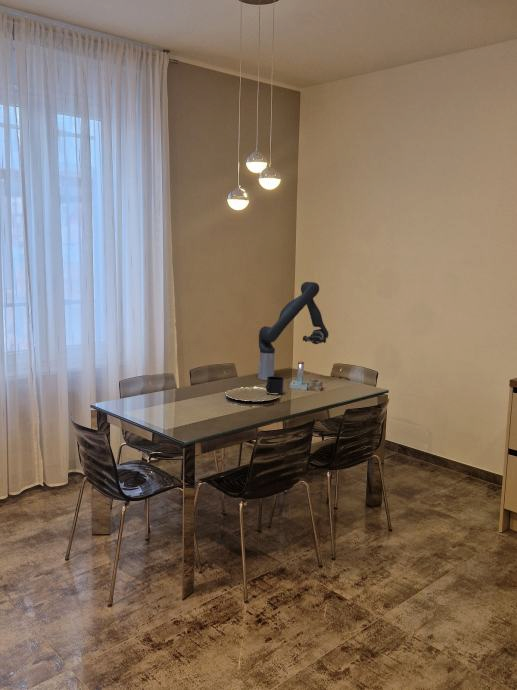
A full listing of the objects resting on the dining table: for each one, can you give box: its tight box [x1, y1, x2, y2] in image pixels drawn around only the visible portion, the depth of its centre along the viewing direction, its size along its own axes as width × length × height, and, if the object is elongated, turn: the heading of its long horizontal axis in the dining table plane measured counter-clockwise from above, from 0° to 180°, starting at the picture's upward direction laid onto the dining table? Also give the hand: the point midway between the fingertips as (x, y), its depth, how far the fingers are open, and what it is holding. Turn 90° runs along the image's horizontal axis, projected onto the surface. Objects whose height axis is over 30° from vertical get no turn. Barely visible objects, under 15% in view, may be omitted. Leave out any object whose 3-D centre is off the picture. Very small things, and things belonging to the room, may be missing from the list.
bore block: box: [306, 378, 323, 391], centre depth 373 cm, size 8×8×5 cm
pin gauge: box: [296, 361, 305, 385], centre depth 374 cm, size 4×4×15 cm
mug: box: [265, 375, 284, 395], centre depth 358 cm, size 9×12×9 cm
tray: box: [289, 380, 308, 391], centre depth 375 cm, size 10×10×3 cm
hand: (312, 340), depth 380 cm, fingers open, 8 cm apart
